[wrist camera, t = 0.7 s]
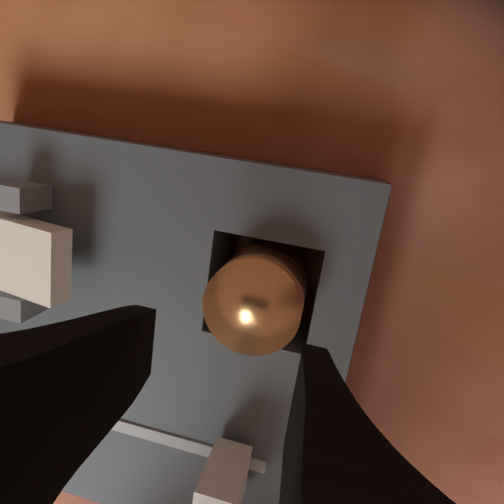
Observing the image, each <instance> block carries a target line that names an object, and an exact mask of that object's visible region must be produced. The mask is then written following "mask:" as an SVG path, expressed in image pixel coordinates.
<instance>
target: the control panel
mask: <svg viewBox="0 0 504 504" xmlns="http://www.w3.org/2000/svg"><path fill="white" fill-rule="evenodd" d="M391 187H392V184H390V183H387V182H385V181H383V180H378V179H372V178H366V177H359V176H353V175H347V174H340V173H334V172H327V171H321V170H315V169H308V168H302V167H296V166H289V165H283V164H276V163H270V162H264V161H257V160H251V159H245V158H238V157H232V156H225V155H219V154H213V153H206V152H200V151H194V150H187V149H181V148H174V147H168V146H162V145H155V144H149V143H143V142H136V141H130V140H123V139H117V138H111V137H104V136H98V135H91V134H85V133H79V132H72V131H66V130H60V129H53V128H47V127H40V126H34V125H28V124H21V123H15V122H7V121H0V211H5V212H10V213H14V214H18V215H22V216H26V217H29V218H33V219H37V220H40V221H44V222H48V223H52V224H55V225H59V226H63V227H66V228H70V229H73V237H72V274H71V301H68V302H66V303H63V304H61V305H58V306H55V307H53V308H48V307H45V306H42V305H39V304H37V303H34V302H31V301H28V300H26V299H23V298H20V297H17V296H15V295H12V294H9V293H6V292H4V291H1V290H0V333H7V332H13V331H19V330H24V329H30V328H34V327H39V326H43V325H48V324H52V323H57V322H62V321H66V320H70V319H74V318H78V317H82V316H86V315H90V314H94V313H98V312H102V311H106V310H110V309H114V308H119V307H123V306H129V305H140V306H144V307H149V308H153V309H156V321H155V332H154V343H153V354H152V366H151V375H150V376H149V378H148V380H147V381H146V383H145V385H144V386H143V388H142V390H141V391H140V393H139V394H138V396H137V397H136V399H135V401H134V402H133V404H132V405H131V406H130V407H129V409H128V410H127V411H126V412H125V414H124V415H123V416H122V417H121V418H120V420H119V421H118V422H117V423H116V424H115V426H114V427H113V428H112V429H111V430H110V432H109V433H108V434H107V435H106V436H105V438H104V439H103V440H102V441H101V442H100V444H99V445H98V446H97V447H96V448H95V450H94V451H93V452H92V453H91V454H90V456H89V457H88V458H87V459H86V460H85V461H84V463H83V464H82V465H81V466H80V467H79V469H78V470H77V471H76V472H75V474H74V475H73V476H72V478H71V479H70V480H69V481H68V483H67V484H66V485H65V487H64V488H63V490H62V491H64V492H67V493H70V494H73V495H76V496H79V497H82V498H85V499H88V500H92V501H95V502H98V503H101V504H192V502H193V494H194V490H195V488H196V486H197V483H198V481H199V479H200V476H201V474H202V471H203V469H204V467H205V464H206V462H207V460H208V457H209V455H210V453H211V450H212V448H213V446H214V443H215V441H216V438H217V437H221V438H224V439H228V440H231V441H235V442H239V443H242V444H246V445H249V446H253V447H252V453H251V459H250V465H249V470H248V476H247V482H246V488H245V492H244V496H243V500H242V503H241V504H279V498H280V484H281V471H282V458H283V445H284V439H285V434H286V429H287V423H288V418H289V413H290V407H291V402H292V397H293V392H294V387H295V382H296V377H297V372H298V367H299V362H300V357H301V352H302V347H303V343H306V344H310V345H314V346H319V347H323V348H327V350H328V351H329V353H330V355H331V357H332V359H333V361H334V363H335V365H336V367H337V369H338V371H339V373H340V375H341V376H342V378H343V380H344V382H345V381H346V377H347V373H348V369H349V365H350V360H351V356H352V352H353V348H354V343H355V339H356V335H357V331H358V326H359V322H360V318H361V314H362V309H363V305H364V301H365V297H366V293H367V288H368V284H369V280H370V276H371V271H372V267H373V263H374V259H375V254H376V250H377V246H378V242H379V238H380V233H381V229H382V225H383V221H384V216H385V212H386V208H387V204H388V199H389V195H390V191H391ZM231 233H232V234H237V235H242V236H248V237H253V238H258V239H264V240H269V241H274V242H279V243H285V244H290V245H295V246H300V247H306V248H311V249H316V250H322V251H324V254H323V259H322V264H321V269H320V274H319V279H318V284H317V289H316V294H315V299H314V304H313V309H312V314H311V319H310V324H309V325H307V324H302V323H300V325H299V328H298V330H297V333H296V334H295V336H294V337H293V339H292V340H291V341H290V342H289V343H288V344H287V345H286V346H285V347H283V348H282V349H280V350H279V351H277V352H275V353H272V354H269V355H264V356H248V355H243V354H239V353H237V352H234V351H232V350H230V349H228V348H227V347H225V346H224V345H223V344H221V343H220V342H219V341H218V340H217V339H216V338H215V337H214V335H213V334H212V333H211V331H210V330H209V328H208V326H207V324H206V321H205V318H204V314H203V307H202V303H203V295H204V292H205V289H206V286H207V284H208V282H209V281H210V280H211V278H212V277H213V276H214V275H215V274H216V273H217V272H218V271H219V270H220V269H221V268H222V267H223V266H224V265H225V264H226V263H227V259H228V252H229V244H230V237H231Z"/></svg>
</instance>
